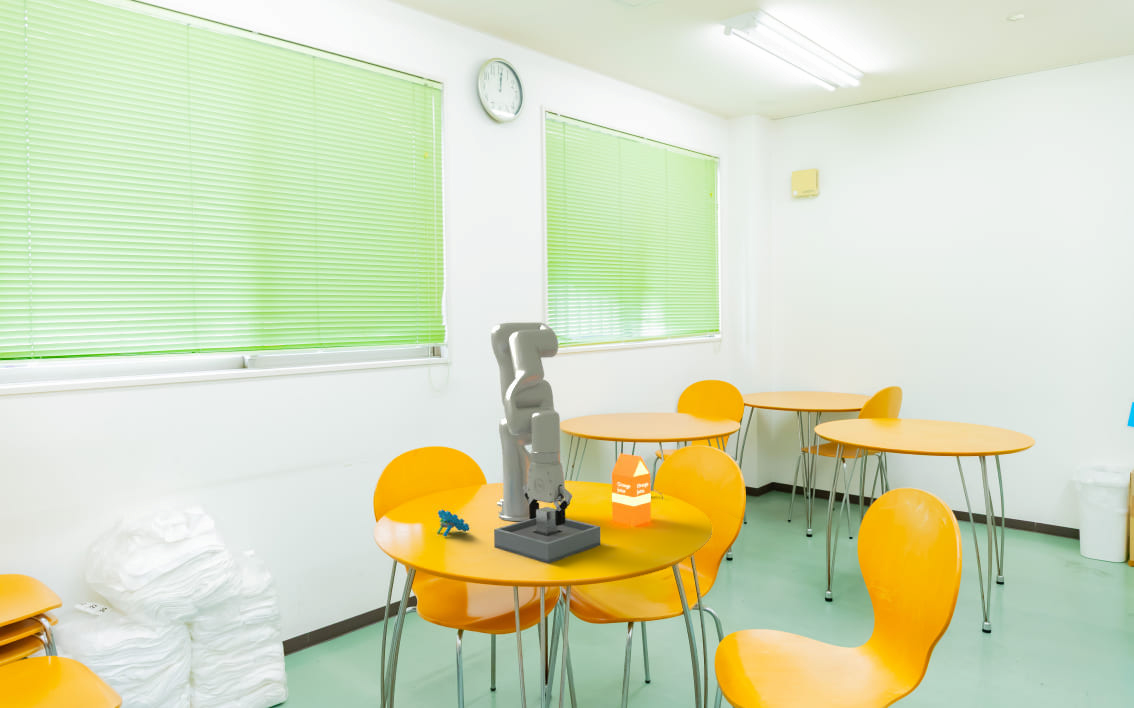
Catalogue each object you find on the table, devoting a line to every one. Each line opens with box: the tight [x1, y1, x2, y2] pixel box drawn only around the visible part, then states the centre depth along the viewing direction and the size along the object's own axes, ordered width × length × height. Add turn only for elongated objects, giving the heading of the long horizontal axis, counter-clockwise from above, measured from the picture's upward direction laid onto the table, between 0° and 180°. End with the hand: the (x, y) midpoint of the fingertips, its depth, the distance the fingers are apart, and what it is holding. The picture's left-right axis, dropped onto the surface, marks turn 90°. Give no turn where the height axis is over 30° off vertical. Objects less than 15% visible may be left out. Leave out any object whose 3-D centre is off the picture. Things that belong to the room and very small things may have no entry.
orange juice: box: [611, 453, 652, 527], centre depth 212 cm, size 8×9×20 cm
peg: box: [536, 506, 558, 536], centre depth 189 cm, size 4×4×9 cm
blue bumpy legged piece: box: [436, 509, 471, 538], centre depth 200 cm, size 11×6×10 cm
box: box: [493, 518, 601, 565], centre depth 189 cm, size 20×20×5 cm
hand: (547, 521), depth 189 cm, fingers open, 9 cm apart
